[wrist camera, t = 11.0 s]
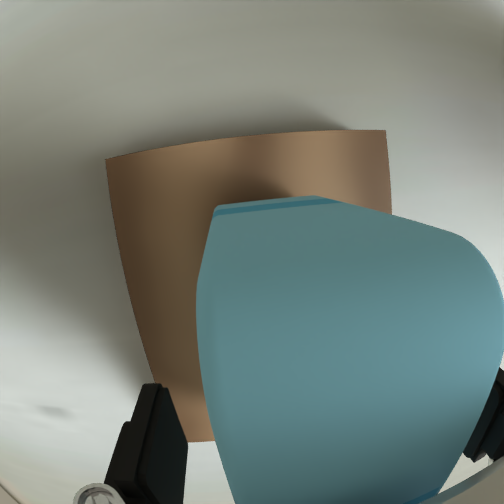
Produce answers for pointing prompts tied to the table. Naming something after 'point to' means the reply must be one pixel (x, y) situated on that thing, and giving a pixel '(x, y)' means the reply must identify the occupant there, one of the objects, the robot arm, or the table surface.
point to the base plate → (199, 220)
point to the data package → (342, 350)
